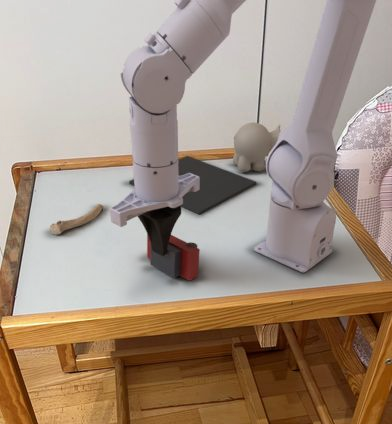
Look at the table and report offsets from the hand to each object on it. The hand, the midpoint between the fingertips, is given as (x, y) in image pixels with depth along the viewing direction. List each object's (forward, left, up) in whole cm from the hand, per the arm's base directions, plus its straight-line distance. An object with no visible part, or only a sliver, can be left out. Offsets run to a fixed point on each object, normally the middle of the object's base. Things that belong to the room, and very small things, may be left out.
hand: (159, 252), depth 74 cm
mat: (+17, -25, -4) cm, 30 cm away
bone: (+21, -2, -4) cm, 22 cm away
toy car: (0, -2, -4) cm, 4 cm away
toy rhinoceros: (+12, -40, -4) cm, 42 cm away
